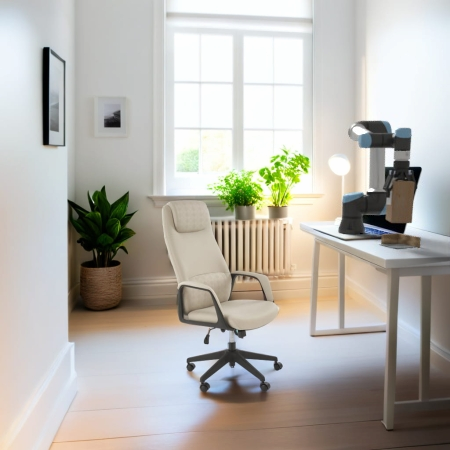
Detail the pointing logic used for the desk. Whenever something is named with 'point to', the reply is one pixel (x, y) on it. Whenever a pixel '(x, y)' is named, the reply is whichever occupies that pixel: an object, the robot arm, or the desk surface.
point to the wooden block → (401, 202)
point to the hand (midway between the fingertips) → (399, 204)
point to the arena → (400, 241)
